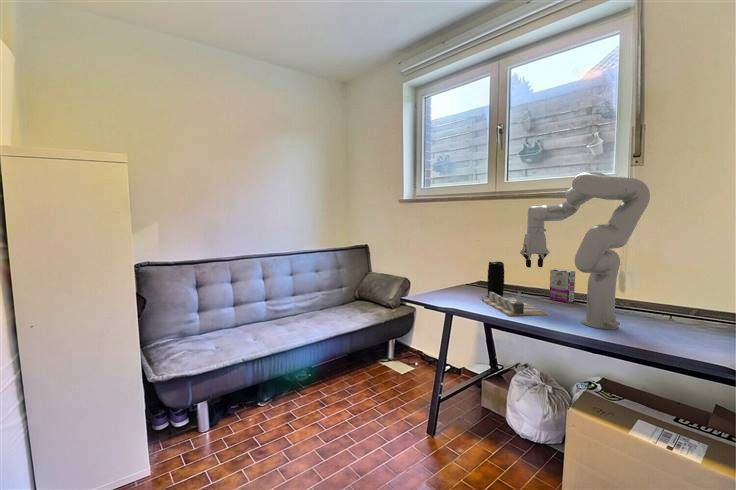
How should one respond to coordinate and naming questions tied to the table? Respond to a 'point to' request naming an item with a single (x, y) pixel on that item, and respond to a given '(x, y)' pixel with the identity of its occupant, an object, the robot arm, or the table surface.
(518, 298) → the tongs arm
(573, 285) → the candy bar box
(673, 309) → the table surface
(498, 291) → the portable speaker
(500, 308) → the tongs board
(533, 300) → the table surface
